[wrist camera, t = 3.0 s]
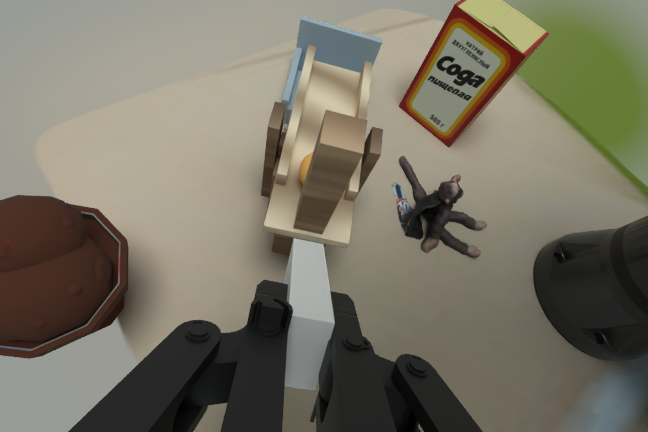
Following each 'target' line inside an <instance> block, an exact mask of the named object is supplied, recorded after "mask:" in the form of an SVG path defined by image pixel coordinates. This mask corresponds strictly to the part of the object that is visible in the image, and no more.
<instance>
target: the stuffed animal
mask: <svg viewBox="0 0 648 432" xmlns="http://www.w3.org/2000/svg"><path fill="white" fill-rule="evenodd" d="M400 165H401V167H402V169H403V171H404V172H405V175H406V177H407V178H408V180H409V182H410V184H411V185H412V189H413V197H414V200H415V202H416V204H417V205H416V207H415V209H412V208H411V207H410V206H409V204H408V202H407V200H406V197H405V195H404V192H403V190H402V188H401V186H400V185H399V184H397V183H394V184H393V185H392V189H393V192H394V195H395V197H396V201H397V209H398V215H399V220H400V223H401V226H402V228H403V230H404V231H405V232H406V233H405V235H406V236H409V237H413V238H416V239H419V240H420V239H422V238H423V230H422V222H421V217H420V214H419V213H421V212H423V213H425V215H426V220H427V222H428V224H429V230H428V234H427V236H426V238H425V239H424V240H423V242H422V244H421V248H422V250H423V251H424V252H426V253H428V252H429V251H430V250H432V249H433V248H435V247H437V245H438V243H439V239H441V240H442V242H443V243H444V244H445V245H448V246H449V247H451V248H453V249H455V250H457V251H458V252H460V253H462V254H467V255H471V256H473V257H478V256H479V255H480V250H478V249H477V248H476V247H475V246H468V245H467V244H466V243H464V242H461V241H460V240H458V239H456V238H455V237H454V236H452V235H451V234H450V233H449V232H448V231H447V230H446V229H445V228H444V226H445V225H446V224H447V223H448V222H449V221H455V222H458V223H461V224H463V225H464V226H465V227H467V228H469V229H474V230H480V229H483V228H485V227H486V225H487V224H486V222H484V221H475V220H474V219H473V218H471V217H469V216H468V215H466V214H464V213H463V212H457V211H451V209H452V207H453V204H454V203H456V202H457V200H458V199H459V198H461V197H462V196H463V190H462V189H461V188H460V186H459V184H458V182H459V181H460V179H461V176H460V175H455V176H453V177H452V179H451V181H449V182H445V181H443V182H441V185H440V187H439V189H438V191H437V190H434V193H433V194H430V195H428V196H427V194H426V192H425V191H424V189H423V188H422V187H421V185H420V184H419V182H418V179H417V177H416V175H415V173H414V171H413V169H412V167H411V165H410V164H409V163H408V161H407V159H406V158H405V157H404V156H402V157H400Z"/></svg>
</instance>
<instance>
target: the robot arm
mask: <svg viewBox="0 0 648 432" xmlns="http://www.w3.org/2000/svg"><path fill="white" fill-rule="evenodd" d="M534 279H535V286H536V291H537V294H538V297H539V300H540V302H541V305H542V307H543V309H544V311H545V313H546V314H547V316H548V318H549V319H550V321H551V322H552V323H553V325H554V326H555V327H556V329H557V330H558V331H559V332H560V333H561V334H562V335H563V336H564V337H565V338H566V339H567V340H568V341H569V342H570V343H572V344H573V345H574V346H575V347H577V348H578V349H580V350H582V351H583V352H585V353H587V354H589V355H591V356H594V357H597V358H600V359H604V360H623V359H634V358H638V357H641V356H644V355H646V354H648V216H646V217H644V218H641V219H639V220H636V221H634V222H632V223H630V224H627V225H625V226H623V227H620V228H617V229H608V230H598V231H589V232H580V233H573V234H569V235H565V236H563V237H561V238H559V239H557V240H555V241H552V242H551V243H549V244H547V245H546V246H545V247H544V248H543V249H542V250H541V252H540V253H539V255H538V257H537V260H536V263H535V269H534ZM318 379H319V392H318V395H317V399H316V402H315V405H314V409H313V412H312V416H311V420H310V422H314V419H315V416H316V429H317V432H421V431H420V430H419V428H418V425H419V424H420V426H421V427H422V429H423V431H424V432H482V430H481V429H480V428H479V426H478V425H477V424H476V422H475V421H474V420H473V419H472V417H471V416H470V415H469V413H468V412H467V411H466V409H465V408H464V407H463V406H462V404H461V403H460V402H459V400H458V399H457V398H456V396H455V395H454V394H453V392H452V391H451V390H450V389H449V387H448V386H447V385H446V383H445V382H444V381H443V379H442V378H441V377H440V376H439V374H438V373H437V372H436V370H435V369H434V368H433V367H432V366H431V365H430V364H429V363H428V362H427V361H425V360H424V359H422V358H420V357H417V356H415V355H410V354H404V355H400V356H399V357H398V358H397V360H396V363H395V362H392V361H390V360H387V359H385V358H382V357H380V356H378V355H376V354H375V353H374V350H373V347H372V345H371V343H370V342H369V341H368V340H367V339H366V338H365V337H363V336H362V333H361V329H360V325H359V321H358V318H357V314H356V311H355V306H354V302H353V301H352V300H351V298H350V297H349V296H348V295H347V294H342V293H336V292H331V291H330V286H329V279H328V272H327V265H326V258H325V252H324V245H323V244H320V243H315V242H311V241H306V240H301V239H296V238H294V239H293V243H292V248H291V252H290V256H289V260H288V265H287V269H286V273H285V278H284V282H283V283H278V282H273V281H268V280H263V281H262V282H261V283H260V284H258V285H257V289H256V294H255V297H254V300H253V302H252V303H251V308H250V313H249V318H248V322H247V325H246V326H245V327H244V328H242V329H241V330H239V331H236V332H231V333H221V331H220V329H219V328H218V327H217V326H216V325H215V324H213V323H211V322H208V321H203V320H191V321H188V322H184V323H183V324H181V325H179V326H178V327H177V328H176V329H175V330H174V331H173V332H171V333H170V334H169V335H168V336H167V337H166V338H165V339H164V340H163V341H162V342H161V343H160V344H159V345H158V346H157V347H156V348H155V349H154V350H153V351H152V352H151V353H150V354H149V355H148V356H147V357H145V358H144V359H143V360H142V361H141V362H140V363H139V364H138V365H137V366H136V367H135V368H134V369H133V370H132V371H131V372H130V373H129V374H128V375H127V376H126V377H125V378H124V379H123V380H122V381H121V382H119V383H118V384H117V385H116V386H115V387H114V388H113V389H112V390H111V391H110V392H109V393H108V394H107V395H106V396H105V397H104V398H103V399H102V400H101V401H100V402H99V403H98V404H97V405H96V406H95V407H94V408H92V410H90V411H89V412H88V413H87V414H86V415H85V416H84V417H83V418H82V419H81V420H80V421H79V422H78V423H77V424H76V425H75V426H74V427H73V428H72V429H71V430H70V431H68V432H193V431H194V429H195V428H196V426H197V425H198V423H199V421H200V420H201V418H202V417H203V415H204V414H205V412H206V410H207V407H208V405H213V404H220V403H228V404H227V408H226V412H225V416H224V420H223V424H222V428H221V432H282V419H283V403H284V387H291V388H298V389H305V390H311V391H315V390H316V386H317V383H318Z"/></svg>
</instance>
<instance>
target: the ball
mask: <svg viewBox="0 0 648 432" xmlns="http://www.w3.org/2000/svg"><path fill="white" fill-rule="evenodd" d="M312 155H313V152H311V153H309V154H308V155H307V156H306V157H305V158H304V159H303V160H302V162H301V164H300V168H299V176H300V179H301V182H302V183H303V185H304V182H305V178H306V175H307V172H308V168H309V165H310V161H311V158H312Z"/></svg>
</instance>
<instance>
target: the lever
mask: <svg viewBox="0 0 648 432" xmlns="http://www.w3.org/2000/svg"><path fill="white" fill-rule="evenodd" d="M315 51H316V47H314V46H311V45H308V49H307V54H306V58H305V60H304V65H303V69H302V73H301V77H300V81H299V85H298V89H297V93H296V97H295V101H294V105H293V109H292V113H291V117H290V121H289V125H288V129H287V133H286V137H285V141H284V146H283V150H282V154H281V158H280V162H279V166H278V170H277V174H276V178H275V182H274V186H273V190H272V194H271V198H270V202H269V206H268V210H267V214H266V218H265V222H264V227H263V231H267V232H272V233H276V234H281V235H286V236H290V237H295V238H300V239H304V240H309V241H314V242H318V243H323V244H328V245H332V246H337V247H342V248H347V246H348V245H349V241H350V232H351V223H352V214H353V206H354V199H355V197H356V195H357V194H358V190H359V181H360V172H361V162H362V156H363V153H364V144H365V135H366V126H367V120H366V117H367V108H368V99H369V89H370V80H371V71H372V63H371V62H367V61H365V62H364V65H363V68H362V70H361V73H358V72H355V71H351V70H347V69H344V68H340V67H337V66H333V65H329V64H326V63H322V62H319V61H315V60H314V55H315ZM311 152H313V155H312V158H311V161H310V165H309V168H308V172H307V175H306V178H305V182H304V185H303V183H302V182H301V179H300V176H299V168H300V164H301V162H302V160H303V159H304V158H305V157H306V156H307V155H308V154H309V153H311Z"/></svg>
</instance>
